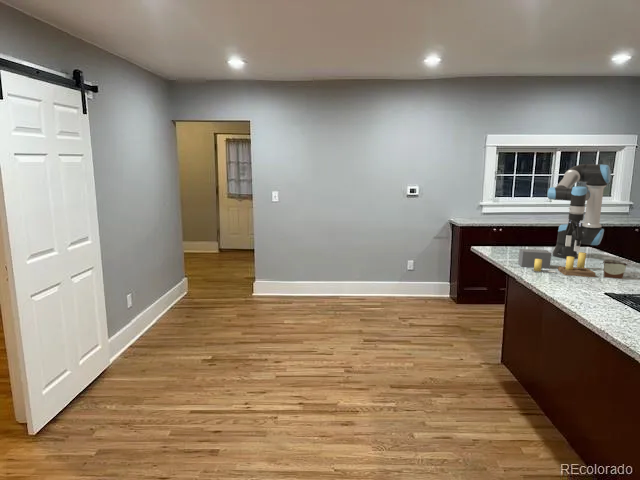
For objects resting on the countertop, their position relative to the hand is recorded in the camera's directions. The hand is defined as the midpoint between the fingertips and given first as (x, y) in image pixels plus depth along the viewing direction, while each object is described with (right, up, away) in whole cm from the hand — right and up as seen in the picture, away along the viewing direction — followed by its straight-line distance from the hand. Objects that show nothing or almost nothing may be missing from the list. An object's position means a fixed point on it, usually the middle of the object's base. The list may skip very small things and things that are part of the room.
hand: (572, 248), depth 252 cm
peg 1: (-1, -15, +2) cm, 15 cm away
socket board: (+3, -15, +2) cm, 15 cm away
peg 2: (+14, -13, +15) cm, 24 cm away
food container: (+20, -17, -4) cm, 27 cm away
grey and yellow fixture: (-14, -14, +5) cm, 20 cm away
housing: (-14, -12, +18) cm, 25 cm away
